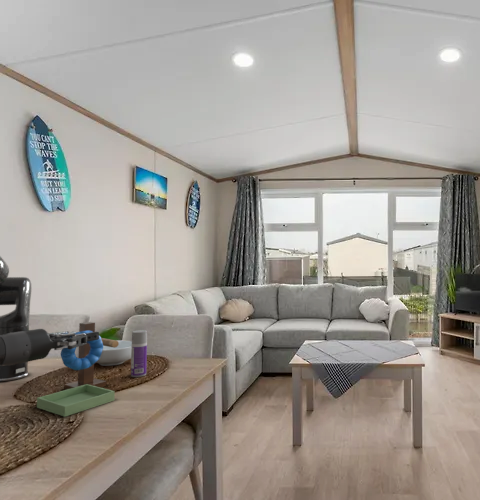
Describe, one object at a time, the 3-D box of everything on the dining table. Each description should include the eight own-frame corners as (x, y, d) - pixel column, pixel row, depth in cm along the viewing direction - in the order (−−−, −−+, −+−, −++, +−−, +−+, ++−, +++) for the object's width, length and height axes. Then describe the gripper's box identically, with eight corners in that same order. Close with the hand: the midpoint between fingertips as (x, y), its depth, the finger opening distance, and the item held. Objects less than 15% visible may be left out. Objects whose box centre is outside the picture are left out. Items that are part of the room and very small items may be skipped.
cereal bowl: (107, 371, 138) (108, 351, 138) (74, 366, 144) (75, 347, 144) (147, 359, 154) (148, 341, 154) (116, 355, 160) (117, 338, 160)
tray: (36, 407, 105) (36, 397, 105) (86, 392, 117) (87, 384, 117) (64, 416, 100) (64, 406, 100) (114, 400, 111) (114, 391, 111)
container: (149, 373, 137) (150, 330, 137) (140, 377, 132) (141, 332, 132) (136, 372, 137) (137, 329, 138) (127, 376, 133) (128, 332, 133)
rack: (64, 389, 120) (65, 323, 120) (91, 382, 127) (92, 320, 127) (100, 399, 112) (102, 329, 112) (127, 391, 119) (128, 325, 119)
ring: (57, 373, 104) (58, 333, 104) (98, 363, 113) (99, 327, 113) (64, 375, 102) (65, 335, 102) (105, 365, 112) (106, 328, 112)
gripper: (37, 334, 92) (110, 323, 108) (6, 328, 98) (79, 319, 114) (36, 366, 92) (109, 351, 107) (5, 358, 98) (79, 345, 114)
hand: (93, 334), depth 111 cm, fingers closed on ring, 3 cm apart
